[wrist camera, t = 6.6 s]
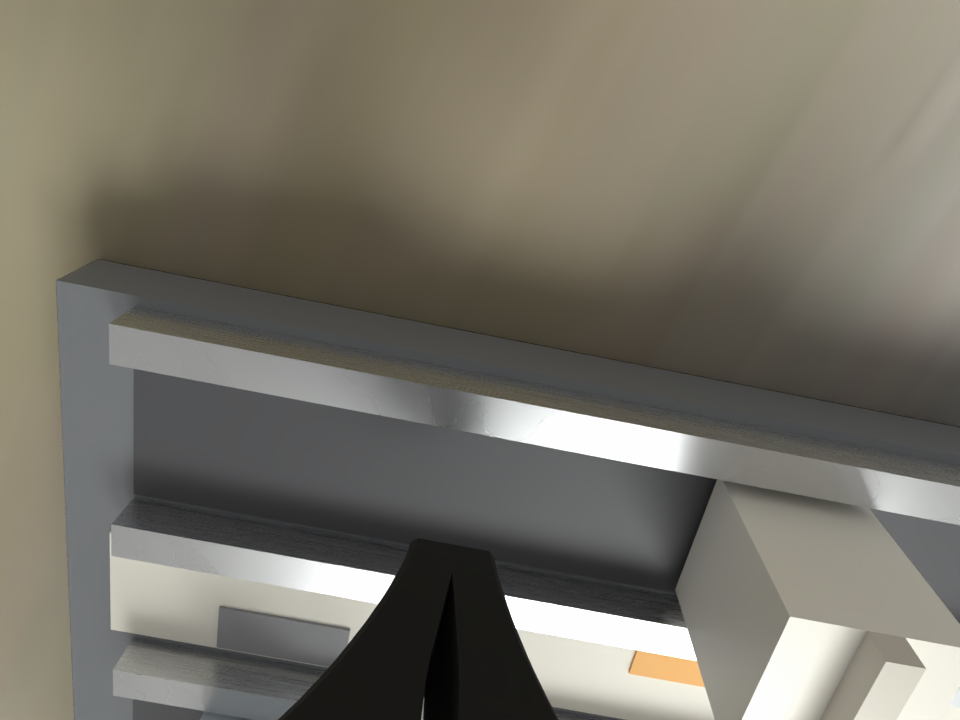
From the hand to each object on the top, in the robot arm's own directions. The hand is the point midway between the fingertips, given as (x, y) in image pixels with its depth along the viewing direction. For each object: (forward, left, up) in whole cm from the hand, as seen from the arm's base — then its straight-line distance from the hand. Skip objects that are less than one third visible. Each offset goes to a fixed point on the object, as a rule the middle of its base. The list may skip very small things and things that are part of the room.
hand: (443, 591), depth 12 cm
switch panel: (-4, -3, -5) cm, 7 cm away
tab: (0, -7, -3) cm, 7 cm away
